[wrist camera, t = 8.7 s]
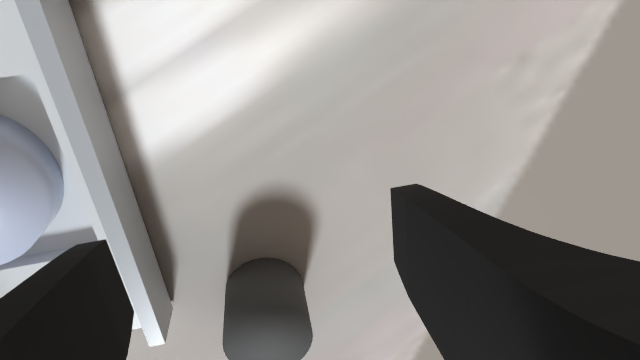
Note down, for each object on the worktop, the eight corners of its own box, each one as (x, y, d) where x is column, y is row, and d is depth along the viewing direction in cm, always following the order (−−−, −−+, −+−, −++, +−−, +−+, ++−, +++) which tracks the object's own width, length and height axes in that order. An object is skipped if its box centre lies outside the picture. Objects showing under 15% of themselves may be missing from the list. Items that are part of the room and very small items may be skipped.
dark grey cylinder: (307, 312, 24) (317, 363, 20) (234, 327, 23) (232, 381, 20) (297, 251, 22) (306, 297, 19) (218, 266, 22) (213, 315, 18)
